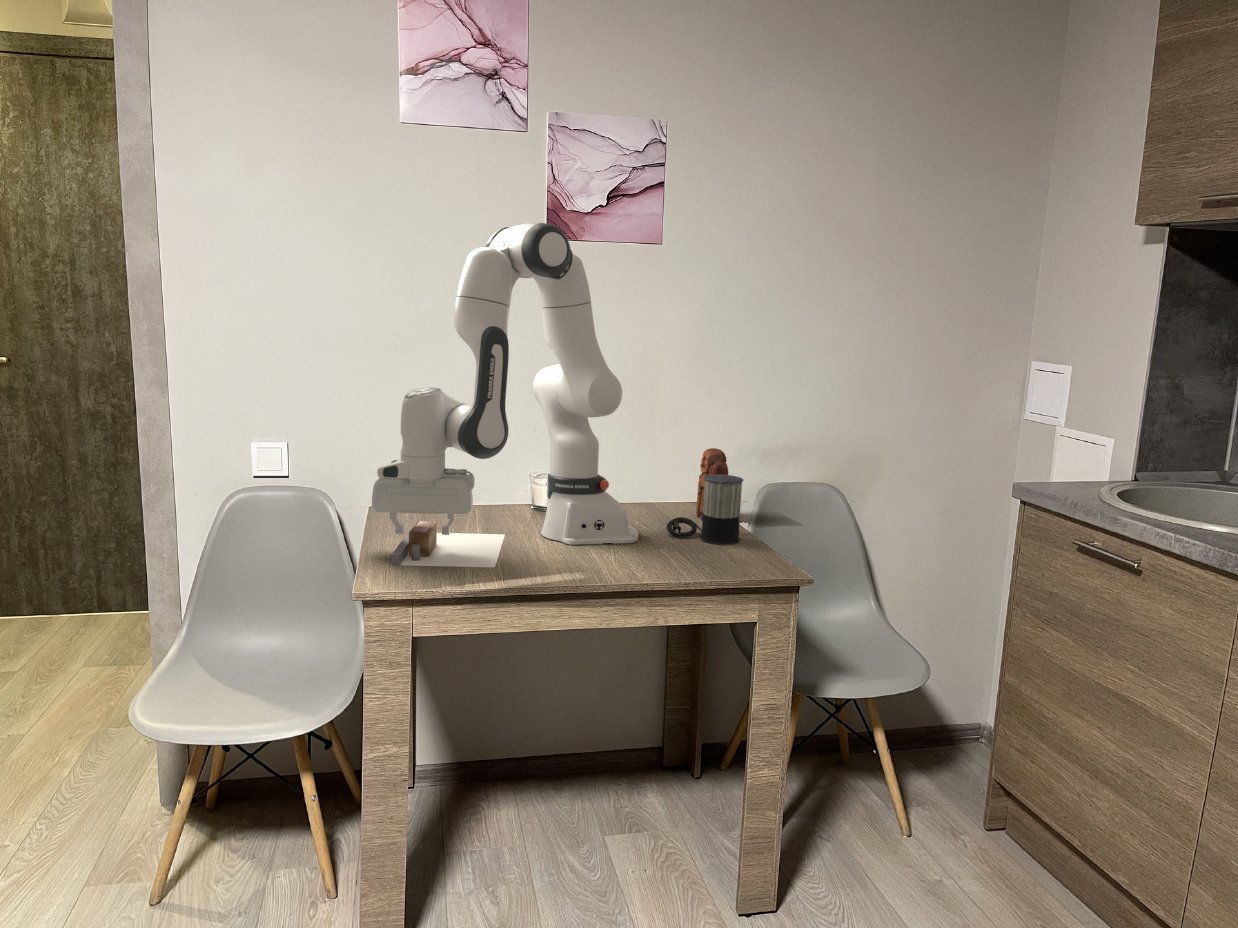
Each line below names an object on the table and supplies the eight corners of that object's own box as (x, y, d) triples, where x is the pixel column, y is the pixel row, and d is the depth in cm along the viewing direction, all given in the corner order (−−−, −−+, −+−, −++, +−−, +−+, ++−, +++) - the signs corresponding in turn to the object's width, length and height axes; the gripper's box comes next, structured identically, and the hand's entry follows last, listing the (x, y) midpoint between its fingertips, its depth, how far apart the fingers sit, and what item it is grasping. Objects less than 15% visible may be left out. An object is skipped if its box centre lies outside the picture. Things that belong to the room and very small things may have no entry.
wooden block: (436, 544, 191) (436, 520, 190) (428, 557, 181) (429, 532, 180) (417, 543, 191) (417, 520, 190) (408, 556, 181) (408, 531, 180)
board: (504, 539, 202) (505, 521, 201) (494, 573, 176) (495, 552, 175) (414, 537, 201) (414, 519, 200) (391, 570, 175) (391, 549, 174)
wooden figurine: (691, 513, 236) (694, 445, 233) (714, 512, 238) (717, 445, 235) (706, 523, 225) (710, 452, 222) (730, 523, 226) (734, 452, 223)
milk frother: (746, 545, 206) (750, 481, 203) (681, 547, 201) (684, 482, 199) (723, 530, 219) (726, 470, 217) (661, 531, 215) (664, 470, 213)
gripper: (476, 466, 187) (475, 531, 189) (376, 463, 185) (376, 529, 188) (472, 472, 180) (472, 539, 183) (369, 469, 179) (369, 536, 182)
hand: (422, 533), depth 185 cm, fingers open, 8 cm apart
